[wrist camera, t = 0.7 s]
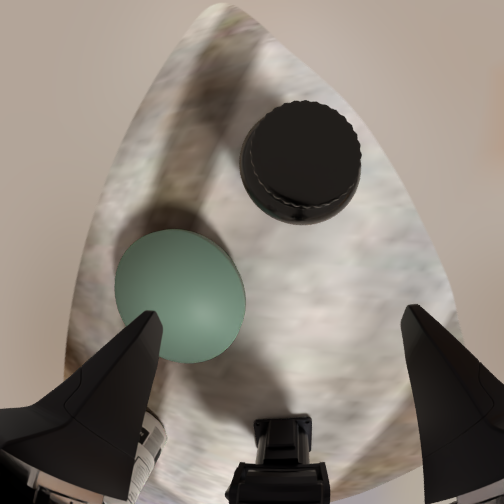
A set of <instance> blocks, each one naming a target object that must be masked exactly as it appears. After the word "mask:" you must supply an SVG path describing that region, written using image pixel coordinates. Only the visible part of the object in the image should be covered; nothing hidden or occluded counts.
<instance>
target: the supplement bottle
mask: <svg viewBox="0 0 504 504" xmlns="http://www.w3.org/2000/svg"><path fill="white" fill-rule="evenodd" d="M361 156H362V154H361V152H360V143H359V141H358V140H357V134H356V133H355V132H354V131H353V127H352V125H351V124H350V123H348V122H347V120H346V118H345V117H344V116H342V115H340V114H339V113H338V112H337V110H334V109H331V108H330V107H329V106H327V105H322V104H320V103H318V102H309V101H307V100H304V101H301V102H300V101H293V102H291V103H284V104H283V105H282V106H281V107H276V108H274V109H273V111H272V112H270V113H267V114H266V116H265V117H263V118H262V119H261V120H259V121H258V122H257V123H256V124H255V125H254V126H253V128H252V129H251V130H250V132H249V133H248V135H247V136H246V138H245V140H244V143H243V145H242V149H241V153H240V162H239V165H240V175H241V179H242V182H243V185H244V187H245V190H246V192H247V193H248V195H249V197H250V198H251V199H252V201H253V202H254V203H255V204H256V205H257V206H258V207H259V208H260V209H261V210H262V211H263V212H265V213H266V214H267V215H269V216H271V217H272V218H274V219H276V220H279V221H281V222H284V223H288V224H293V225H311V224H317V223H320V222H323V221H326V220H328V219H330V218H332V217H334V216H335V215H337V214H338V213H340V212H341V211H342V210H343V209H344V208H345V207H346V206H347V205H348V204H349V202H350V201H351V199H352V198H353V196H354V194H355V192H356V190H357V187H358V184H359V181H360V175H361V160H360V159H361Z"/></svg>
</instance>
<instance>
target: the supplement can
mask: <svg viewBox="0 0 504 504" xmlns="http://www.w3.org/2000/svg"><path fill="white" fill-rule="evenodd" d="M166 441H167V435H166V431H165V430H164V428H163V426H162V425H161V424H160V422H159V421H158V420H157V419H156V418H155V417H154V416H153V415H151V414H150V413H148V412H145V416H144V420H143V424H142V429H141V433H140V438H139V442H138V447H137V452H136V457H135V462H134V467H133V472H132V478H131V483H130V489H129V495H128V500H127V502H126V501H122V500H118V499H115V498H111V497H108V496H104V499H103V501H104V503H105V504H134V503H135V502H136V500H137V498H138V496H139V494H140V492H141V490H142V488H143V486H144V484H145V483H146V481H147V479H148V477H149V475H150V473H151V471H152V469H153V467H154V465H155V463H156V462H157V460H158V458H159V456H160V454H161V452H162V450H163V448H164V446H165V444H166Z"/></svg>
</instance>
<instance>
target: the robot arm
mask: <svg viewBox="0 0 504 504" xmlns="http://www.w3.org/2000/svg"><path fill="white" fill-rule="evenodd" d="M401 331H402V337H403V344H404V351H405V359H406V364H407V369H408V373H409V378H410V383H411V387H412V392H413V397H414V403H415V408H416V414H417V420H418V427H419V434H420V442H421V450H422V459H423V460H422V461H423V473H424V490H425V491H424V492H425V493H424V495H425V504H431V503H435V502H439V501H443V500H447V499H450V498H454V497H457V501H455V502H452V503H450V504H504V384H503V383H501V382H500V381H499V380H498V379H497V378H496V377H495V376H494V375H493V374H492V373H491V372H490V371H489V370H488V369H487V368H486V367H485V366H484V365H483V364H482V363H481V362H479V360H478V359H477V358H476V357H475V356H474V355H473V354H472V353H471V352H470V351H469V350H467V349H466V348H465V347H464V346H463V345H462V344H461V343H460V342H459V341H458V340H457V339H456V338H455V337H454V336H453V335H452V334H451V333H450V332H449V331H448V330H446V329H445V328H444V327H443V326H442V325H441V324H440V323H439V322H438V321H437V320H435V319H434V318H433V317H432V316H431V315H430V314H429V313H428V312H427V311H425V310H424V309H423V308H422V307H421V306H420V305H418V304H410V305H408V306H407V307H406V309H405V312H404V314H403V317H402V319H401ZM162 335H163V325H162V323H161V321H160V318H159V316H158V314H157V312H156V311H153V310H145V311H144V312H142V313H141V314H140V315H139V316H138V317H137V318H135V319H134V320H133V321H132V322H131V323H130V324H129V325H127V326H126V327H125V328H124V329H123V330H122V331H120V332H119V333H118V334H117V335H116V336H115V337H114V338H113V339H111V340H110V341H109V342H108V343H107V344H106V345H105V346H103V347H102V348H101V349H100V350H99V351H98V352H97V353H96V354H94V355H93V356H92V357H91V358H90V359H89V360H88V361H87V362H86V363H84V364H83V365H82V367H80V368H79V369H78V370H77V371H76V372H74V373H73V374H72V375H71V376H70V377H69V378H68V379H66V380H65V381H64V382H63V383H61V384H60V385H59V386H58V387H56V388H55V389H54V390H52V391H51V392H50V393H49V394H47V395H46V396H45V397H43V398H42V399H41V400H39V401H38V402H36V403H35V404H33V405H31V406H28V407H21V408H6V409H0V504H105V503H104V501H103V499H104V496H108V497H111V498H115V499H118V500H122V501H126V502H127V500H128V495H129V489H130V483H131V478H132V472H133V467H134V462H135V457H136V452H137V447H138V442H139V438H140V433H141V429H142V424H143V420H144V416H145V412H146V408H147V404H148V400H149V396H150V392H151V388H152V384H153V380H154V377H155V373H156V369H157V364H158V359H159V353H160V346H161V340H162ZM306 421H308V422H306ZM257 423H259V424H257ZM254 430H255V436H256V441H257V447H258V450H257V457H256V464H249V463H245V462H240V463H239V466H238V467H237V468H236V470H235V472H234V477H233V479H232V482H231V484H230V486H229V488H228V489H227V491H226V492H225V497H226V498H227V499H228V500H229V504H330V484H329V479H328V474H327V470H326V465H325V462H320V463H315V464H309V452H310V451H311V440H312V419H311V418H310V417H304V418H290V419H263V420H255V421H254Z"/></svg>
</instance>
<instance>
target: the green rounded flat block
mask: <svg viewBox="0 0 504 504" xmlns="http://www.w3.org/2000/svg"><path fill="white" fill-rule="evenodd" d="M115 298H116V303H117V307H118V310H119V313H120V315H121V318H122V320H123V322H124V324H125V325H126V326H127V325H129V324H130V323H131V322H132V321H133V320H134V319H135V318H137V317H138V316H139V315H140V314H141V313H142V312H144V311H145V310H153V311H156V312H157V314H158V316H159V318H160V321H161V323H162V325H163V335H162V340H161V346H160V353H159V356H160V357H162V358H164V359H167V360H170V361H174V362H178V363H198V362H203V361H207V360H210V359H212V358H214V357H216V356H218V355H219V354H221V353H222V352H224V351H225V350H226V349H227V348H228V347H229V346H230V345H231V344H232V342H233V341H234V340H235V338H236V336H237V334H238V332H239V330H240V327H241V325H242V322H243V319H244V314H245V307H246V297H245V290H244V285H243V282H242V279H241V276H240V274H239V272H238V270H237V268H236V266H235V264H234V263H233V261H232V260H231V258H230V257H229V256H228V255H227V254H226V252H225V251H224V250H222V249H221V248H220V247H219V246H218V245H217V244H216V243H214V242H213V241H211V240H210V239H208V238H206V237H204V236H203V235H200V234H198V233H195V232H192V231H188V230H182V229H167V230H162V231H157V232H153V233H150V234H148V235H145V236H143V237H142V238H140V239H138V240H137V241H136V242H134V243H133V244H132V245H131V246H130V247H129V248H128V249H127V251H126V252H125V253H124V255H123V256H122V258H121V260H120V263H119V265H118V268H117V271H116V276H115Z"/></svg>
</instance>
